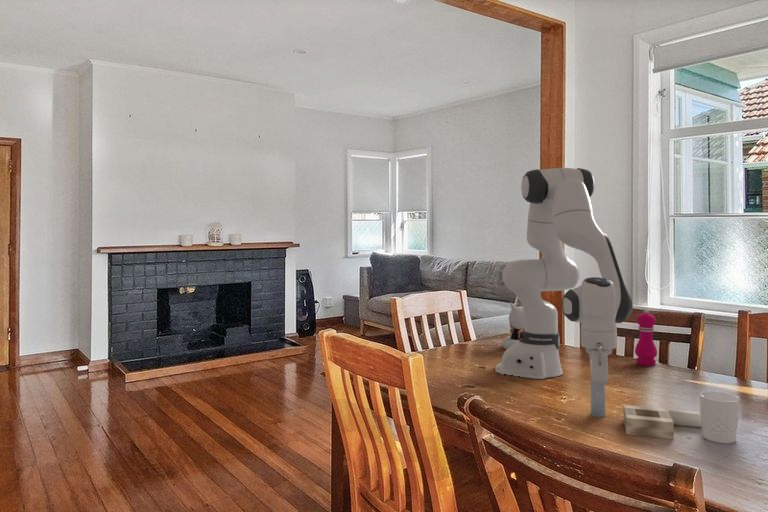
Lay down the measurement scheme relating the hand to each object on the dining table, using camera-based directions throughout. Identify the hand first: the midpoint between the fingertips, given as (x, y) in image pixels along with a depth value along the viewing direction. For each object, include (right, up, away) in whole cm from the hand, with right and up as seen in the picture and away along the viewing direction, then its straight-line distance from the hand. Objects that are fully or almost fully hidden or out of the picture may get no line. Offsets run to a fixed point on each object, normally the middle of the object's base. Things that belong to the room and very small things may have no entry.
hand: (598, 392), depth 141 cm
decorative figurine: (-1, -3, +78) cm, 78 cm away
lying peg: (+20, -3, -7) cm, 21 cm away
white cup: (+22, -7, -16) cm, 28 cm away
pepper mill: (+38, -3, +52) cm, 64 cm away
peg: (0, -6, +1) cm, 6 cm away
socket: (+8, -7, -10) cm, 14 cm away
